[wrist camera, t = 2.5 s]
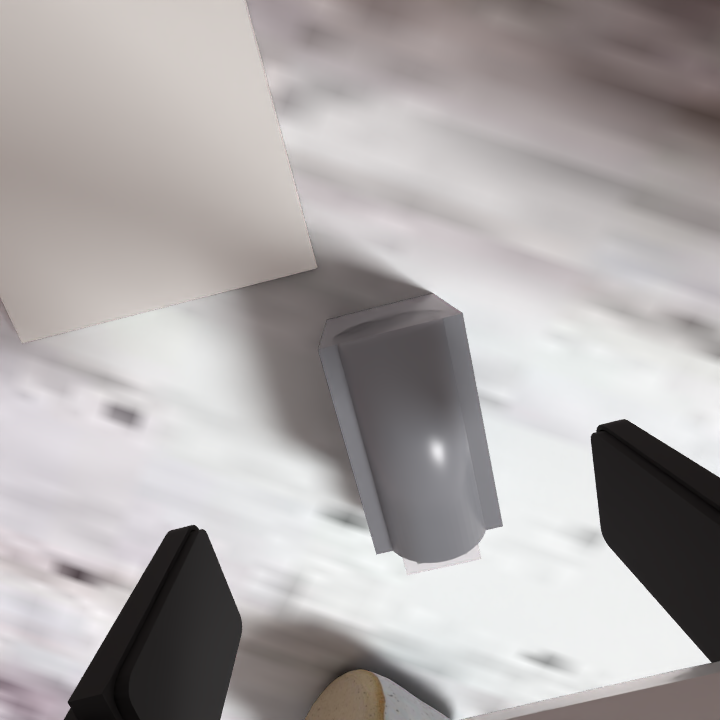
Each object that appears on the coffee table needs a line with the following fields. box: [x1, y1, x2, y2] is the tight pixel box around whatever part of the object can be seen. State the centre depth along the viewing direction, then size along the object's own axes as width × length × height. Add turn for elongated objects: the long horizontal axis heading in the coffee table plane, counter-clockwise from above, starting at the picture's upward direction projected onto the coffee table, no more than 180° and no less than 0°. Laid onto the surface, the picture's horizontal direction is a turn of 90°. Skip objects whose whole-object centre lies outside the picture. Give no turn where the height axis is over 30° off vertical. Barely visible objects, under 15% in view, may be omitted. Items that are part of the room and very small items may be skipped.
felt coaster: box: [0, 0, 318, 344], centre depth 16 cm, size 12×12×1 cm
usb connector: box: [318, 293, 503, 575], centre depth 16 cm, size 4×10×6 cm, turn 14°
